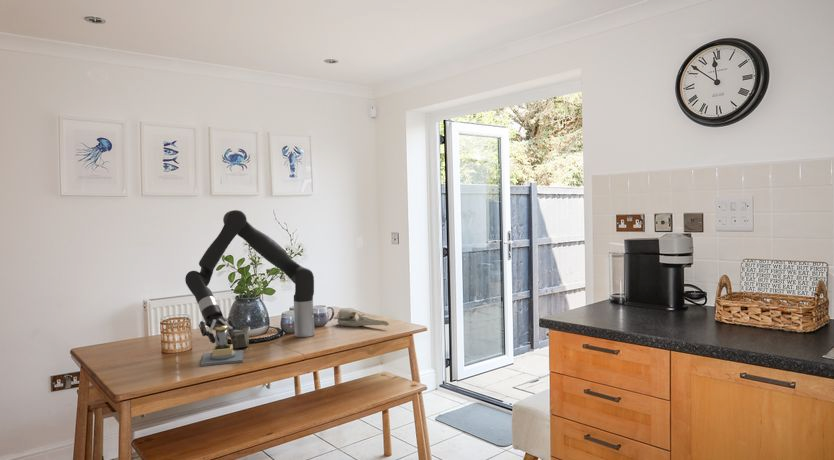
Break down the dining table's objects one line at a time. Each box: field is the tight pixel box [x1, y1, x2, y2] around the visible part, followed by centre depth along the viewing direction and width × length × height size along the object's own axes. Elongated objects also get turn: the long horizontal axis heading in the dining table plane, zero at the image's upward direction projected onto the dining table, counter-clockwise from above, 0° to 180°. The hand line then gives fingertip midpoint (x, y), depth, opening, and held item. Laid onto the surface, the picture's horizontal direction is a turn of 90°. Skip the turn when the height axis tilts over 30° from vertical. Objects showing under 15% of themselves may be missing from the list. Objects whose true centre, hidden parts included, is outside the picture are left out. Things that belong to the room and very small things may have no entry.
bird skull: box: [333, 307, 390, 328], centre depth 280 cm, size 8×32×10 cm, turn 61°
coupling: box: [214, 325, 229, 349], centre depth 225 cm, size 5×5×11 cm
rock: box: [230, 327, 250, 349], centre depth 247 cm, size 17×7×10 cm
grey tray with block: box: [200, 343, 245, 367], centre depth 225 cm, size 16×16×5 cm
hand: (223, 340), depth 223 cm, fingers open, 8 cm apart
